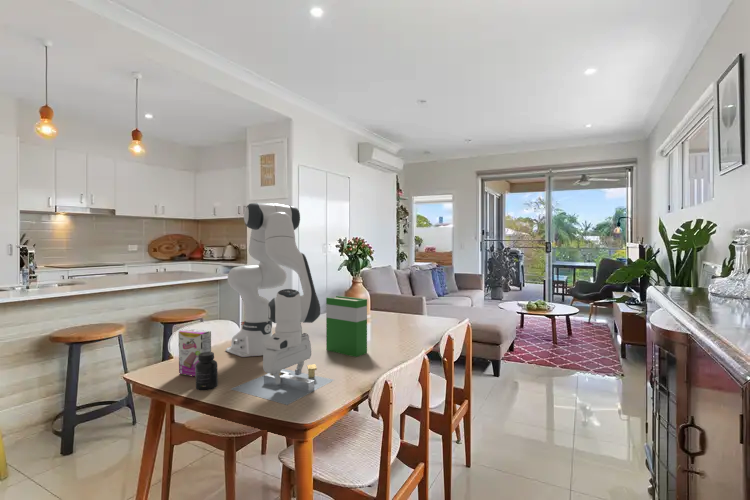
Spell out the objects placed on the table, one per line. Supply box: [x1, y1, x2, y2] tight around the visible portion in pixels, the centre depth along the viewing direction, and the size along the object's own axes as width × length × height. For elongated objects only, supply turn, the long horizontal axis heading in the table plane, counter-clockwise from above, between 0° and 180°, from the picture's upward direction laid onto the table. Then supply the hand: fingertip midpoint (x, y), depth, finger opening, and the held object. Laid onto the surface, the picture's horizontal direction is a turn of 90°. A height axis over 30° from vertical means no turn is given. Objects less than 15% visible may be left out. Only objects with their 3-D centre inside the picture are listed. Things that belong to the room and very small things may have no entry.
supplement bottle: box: [195, 351, 219, 392], centre depth 130 cm, size 7×7×12 cm
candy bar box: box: [178, 328, 212, 377], centre depth 144 cm, size 11×5×16 cm, turn 71°
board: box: [230, 368, 335, 406], centre depth 132 cm, size 25×24×1 cm
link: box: [263, 371, 316, 394], centre depth 131 cm, size 18×6×3 cm, turn 60°
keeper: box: [306, 363, 318, 378], centre depth 138 cm, size 3×5×4 cm, turn 15°
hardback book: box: [325, 295, 368, 358], centre depth 174 cm, size 18×7×24 cm, turn 54°
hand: (288, 378), depth 131 cm, fingers open, 8 cm apart
